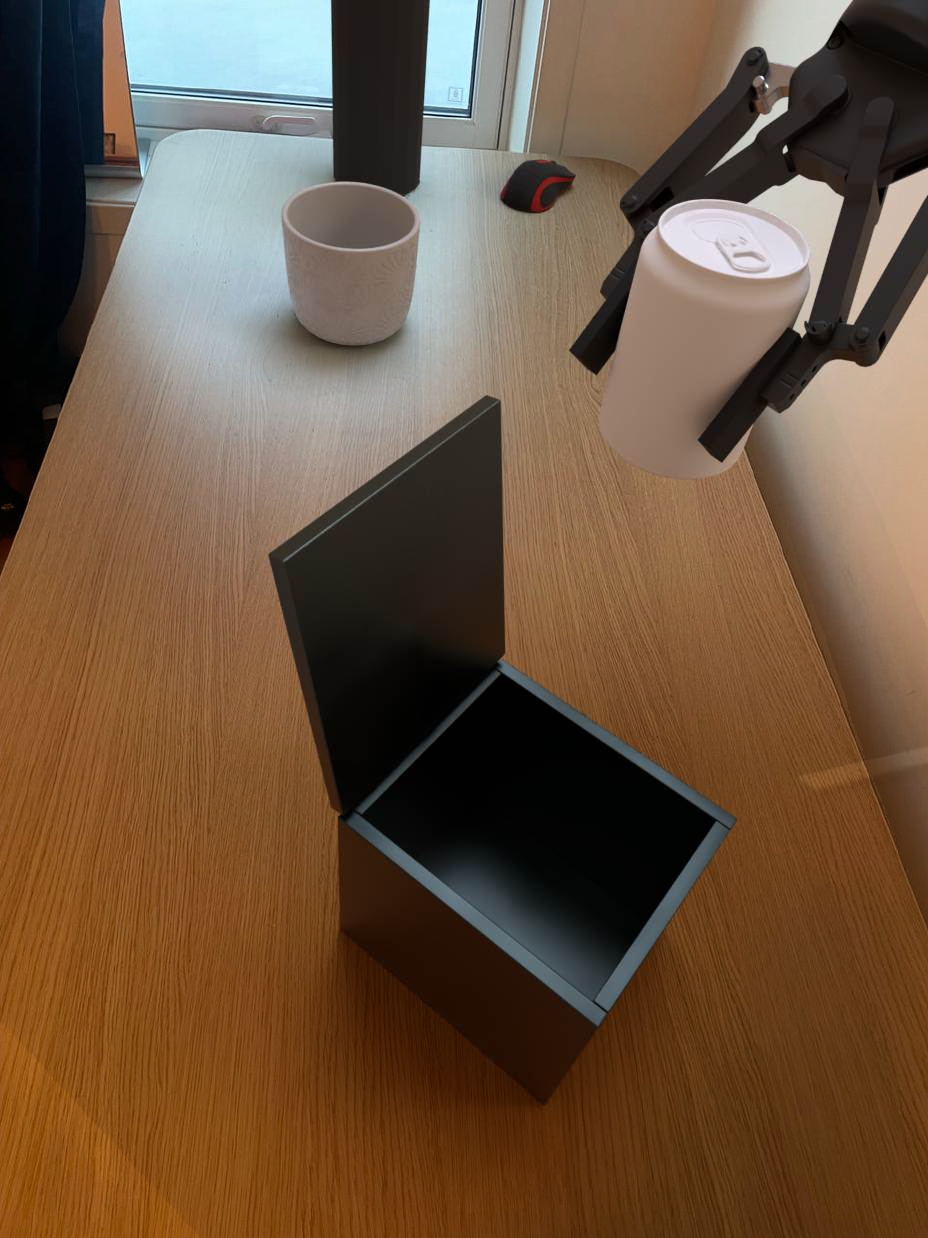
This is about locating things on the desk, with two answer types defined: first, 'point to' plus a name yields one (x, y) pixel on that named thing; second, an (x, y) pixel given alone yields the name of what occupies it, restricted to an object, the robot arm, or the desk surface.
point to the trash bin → (521, 871)
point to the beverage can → (698, 329)
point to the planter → (350, 260)
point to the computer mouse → (536, 185)
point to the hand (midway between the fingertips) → (644, 405)
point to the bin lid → (398, 600)
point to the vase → (378, 91)
